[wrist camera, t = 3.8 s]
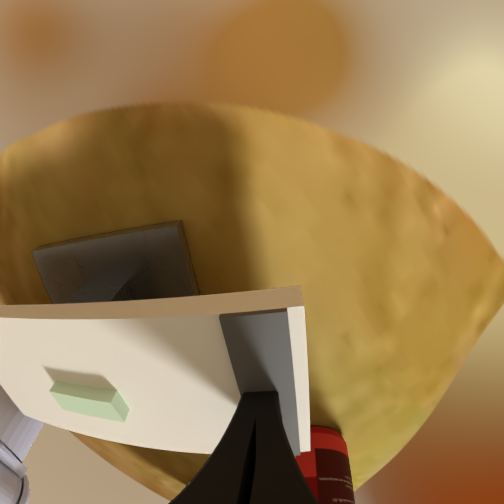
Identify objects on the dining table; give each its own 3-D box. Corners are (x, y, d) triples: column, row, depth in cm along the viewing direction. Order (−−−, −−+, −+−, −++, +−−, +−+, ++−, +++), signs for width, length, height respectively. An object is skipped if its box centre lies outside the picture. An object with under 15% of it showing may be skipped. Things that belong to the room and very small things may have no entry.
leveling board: (34, 399, 16) (19, 422, 13) (-26, 300, 12) (-50, 320, 10) (308, 423, 14) (311, 464, 11) (299, 276, 10) (306, 322, 8)
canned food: (246, 459, 22) (236, 562, 12) (269, 417, 19) (263, 555, 9) (322, 466, 23) (328, 561, 13) (361, 425, 20) (381, 545, 9)
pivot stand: (106, 387, 19) (88, 422, 16) (38, 246, 15) (0, 273, 11) (229, 393, 18) (222, 439, 15) (181, 220, 14) (152, 252, 10)
